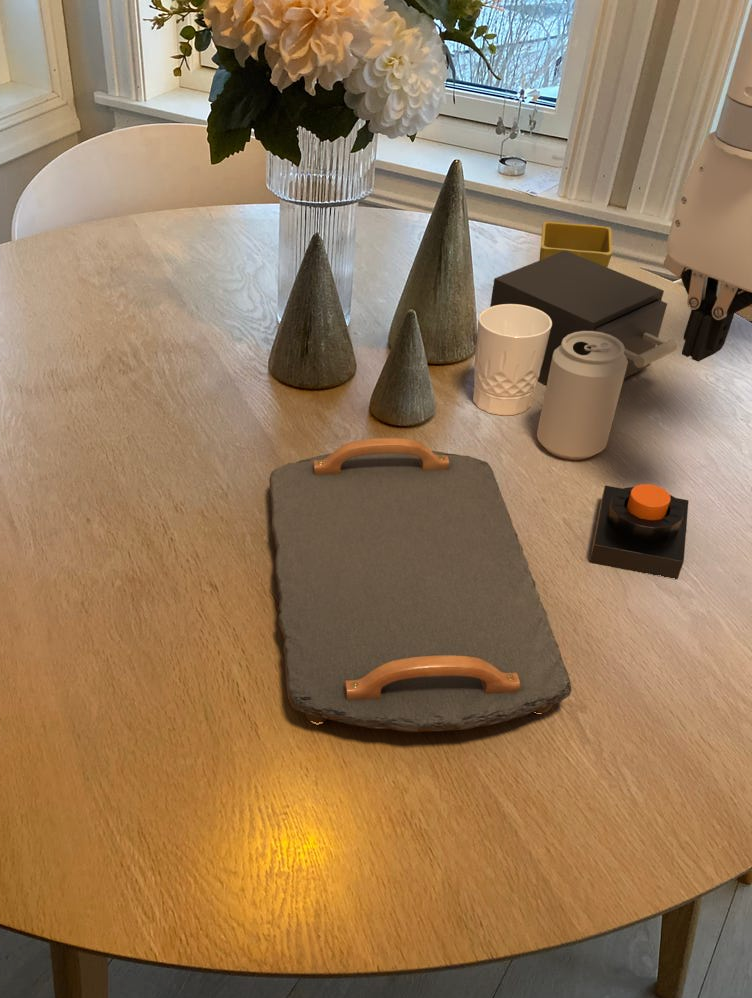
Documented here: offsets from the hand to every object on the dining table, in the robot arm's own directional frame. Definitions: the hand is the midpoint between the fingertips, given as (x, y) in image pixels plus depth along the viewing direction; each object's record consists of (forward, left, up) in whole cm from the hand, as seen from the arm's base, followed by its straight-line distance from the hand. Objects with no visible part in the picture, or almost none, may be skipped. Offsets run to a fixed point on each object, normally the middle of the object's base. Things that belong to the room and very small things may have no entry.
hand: (699, 353), depth 86 cm
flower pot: (-31, -37, -18) cm, 51 cm away
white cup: (-6, -25, -18) cm, 31 cm away
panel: (+3, +1, -18) cm, 18 cm away
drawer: (-19, -23, -17) cm, 34 cm away
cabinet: (-19, -27, -18) cm, 37 cm away
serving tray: (+26, -8, -18) cm, 33 cm away
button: (+3, +1, -15) cm, 15 cm away
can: (-5, -14, -18) cm, 23 cm away
